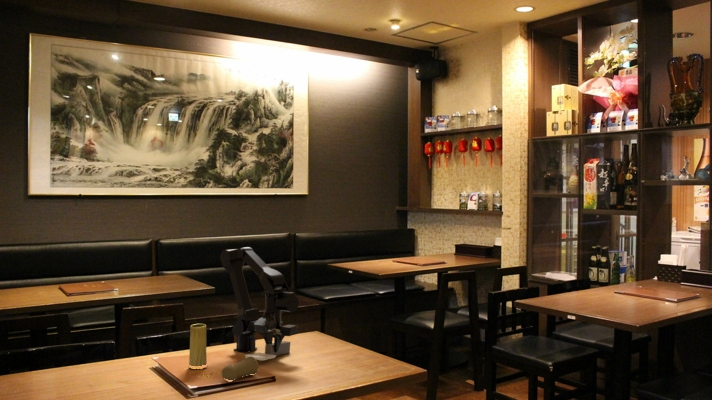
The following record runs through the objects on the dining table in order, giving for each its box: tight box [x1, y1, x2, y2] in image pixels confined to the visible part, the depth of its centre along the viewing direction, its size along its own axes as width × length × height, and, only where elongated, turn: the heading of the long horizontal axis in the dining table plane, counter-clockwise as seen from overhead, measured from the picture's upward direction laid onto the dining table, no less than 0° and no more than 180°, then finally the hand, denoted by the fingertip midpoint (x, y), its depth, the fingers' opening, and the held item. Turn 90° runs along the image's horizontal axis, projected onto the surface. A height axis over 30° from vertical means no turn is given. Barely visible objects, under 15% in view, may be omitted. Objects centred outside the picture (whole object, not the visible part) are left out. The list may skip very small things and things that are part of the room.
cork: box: [221, 357, 259, 381], centre depth 189 cm, size 6×6×11 cm
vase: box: [188, 323, 208, 366], centre depth 201 cm, size 6×6×14 cm
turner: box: [244, 340, 291, 361], centre depth 214 cm, size 7×20×4 cm, turn 151°
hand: (272, 351), depth 215 cm, fingers closed on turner, 2 cm apart
